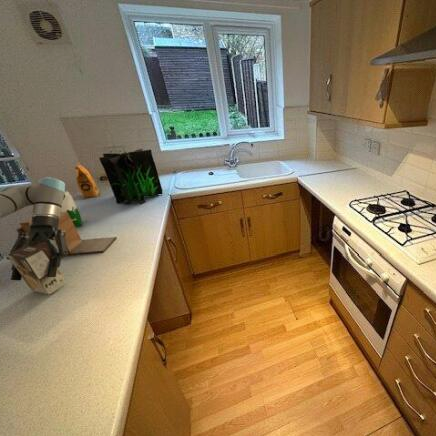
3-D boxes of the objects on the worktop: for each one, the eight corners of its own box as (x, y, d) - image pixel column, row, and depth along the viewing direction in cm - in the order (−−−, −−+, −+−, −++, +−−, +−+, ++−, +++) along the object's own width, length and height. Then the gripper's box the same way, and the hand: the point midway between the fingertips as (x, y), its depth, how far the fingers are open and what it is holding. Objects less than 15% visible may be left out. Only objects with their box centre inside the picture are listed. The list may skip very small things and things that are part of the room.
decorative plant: (105, 202, 160) (87, 157, 146) (143, 187, 185) (130, 147, 171) (138, 207, 152) (122, 160, 138) (172, 191, 177) (162, 149, 163)
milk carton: (63, 230, 127) (45, 195, 118) (63, 224, 133) (46, 190, 124) (84, 225, 132) (68, 191, 123) (83, 219, 138) (68, 186, 129)
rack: (34, 258, 105) (13, 225, 97) (54, 243, 116) (36, 212, 108) (103, 252, 109) (88, 219, 101) (116, 238, 119) (103, 207, 111)
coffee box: (67, 282, 90) (47, 247, 83) (49, 295, 85) (25, 258, 77) (49, 278, 92) (27, 244, 85) (29, 290, 87) (5, 254, 79)
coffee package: (81, 199, 165) (66, 168, 155) (83, 193, 175) (70, 164, 164) (98, 196, 170) (85, 165, 160) (100, 191, 179) (88, 162, 169)
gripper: (86, 218, 94) (78, 275, 88) (21, 223, 91) (7, 282, 85) (71, 212, 87) (61, 274, 81) (0, 217, 84) (-17, 281, 78)
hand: (33, 278), depth 83 cm, fingers closed on coffee box, 10 cm apart
